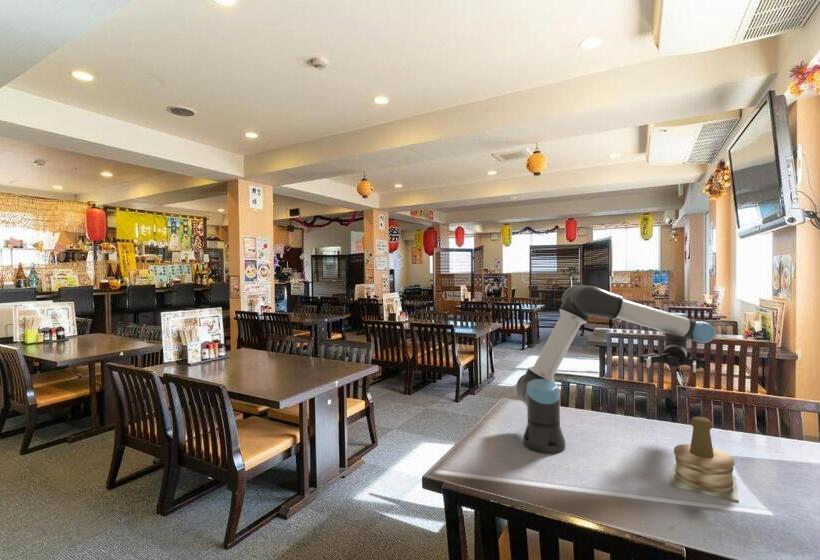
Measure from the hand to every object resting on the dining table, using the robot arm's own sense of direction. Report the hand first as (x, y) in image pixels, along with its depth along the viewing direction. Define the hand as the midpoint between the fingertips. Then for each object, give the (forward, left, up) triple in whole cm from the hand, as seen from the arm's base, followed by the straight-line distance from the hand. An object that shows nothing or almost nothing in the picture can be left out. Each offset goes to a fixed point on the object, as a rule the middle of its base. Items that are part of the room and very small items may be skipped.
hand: (670, 366), depth 141 cm
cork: (+9, -14, -24) cm, 29 cm away
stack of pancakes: (+9, -14, -32) cm, 36 cm away
